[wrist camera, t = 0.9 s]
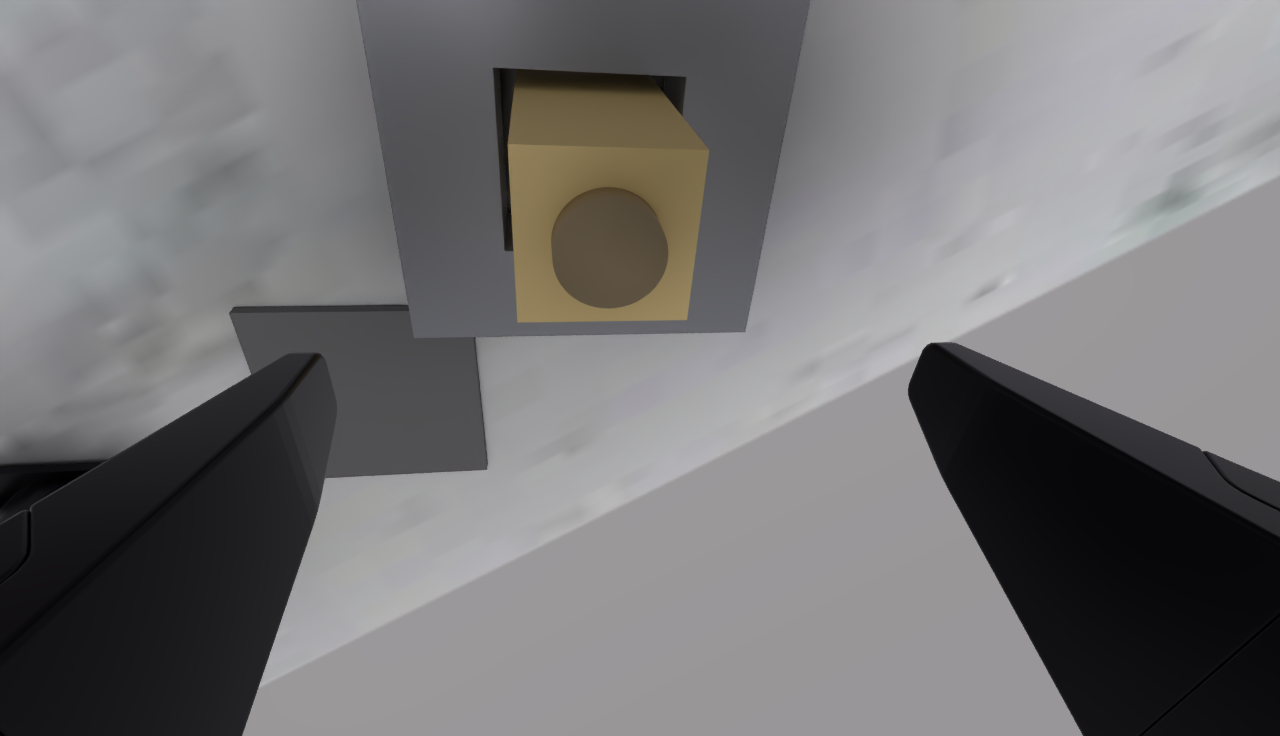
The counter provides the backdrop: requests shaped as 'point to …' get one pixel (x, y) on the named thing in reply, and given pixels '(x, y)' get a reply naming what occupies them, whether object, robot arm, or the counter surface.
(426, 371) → the pad
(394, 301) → the counter surface
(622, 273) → the plug
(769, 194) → the socket block
